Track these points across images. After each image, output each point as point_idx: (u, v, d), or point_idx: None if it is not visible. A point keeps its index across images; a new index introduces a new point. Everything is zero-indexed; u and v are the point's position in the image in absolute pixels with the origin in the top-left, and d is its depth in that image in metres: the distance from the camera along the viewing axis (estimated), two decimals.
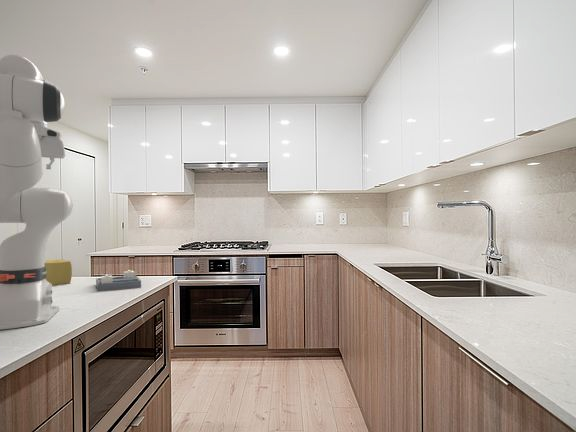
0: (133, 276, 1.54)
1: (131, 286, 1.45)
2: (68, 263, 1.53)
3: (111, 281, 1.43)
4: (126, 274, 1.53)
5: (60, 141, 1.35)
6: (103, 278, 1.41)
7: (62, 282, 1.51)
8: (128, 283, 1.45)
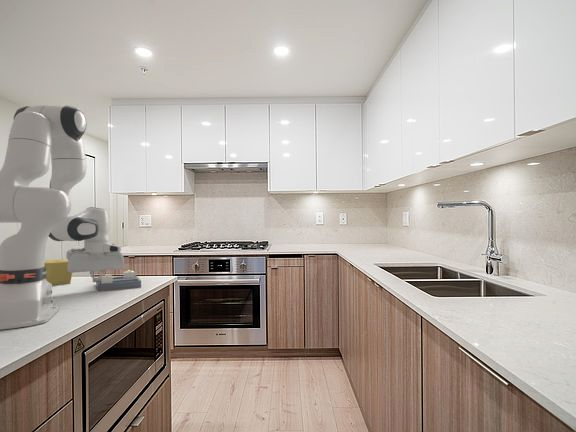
0: (133, 276, 1.54)
1: (131, 286, 1.45)
2: None
3: (111, 281, 1.43)
4: (126, 274, 1.53)
5: (120, 254, 1.44)
6: (103, 278, 1.41)
7: (62, 282, 1.51)
8: (128, 283, 1.45)
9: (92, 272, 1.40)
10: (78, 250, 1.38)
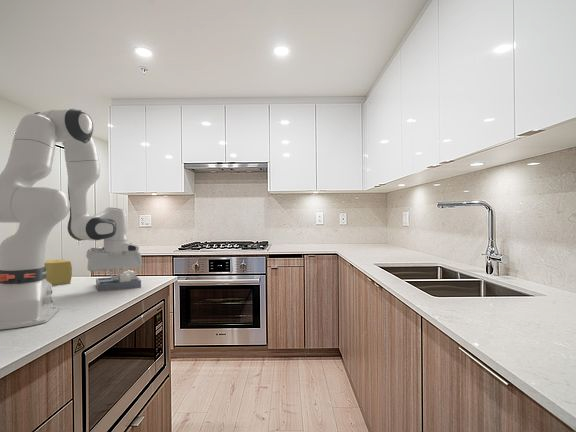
0: (133, 276, 1.54)
1: (131, 286, 1.45)
2: (68, 263, 1.53)
3: (129, 280, 1.46)
4: None
5: (138, 253, 1.47)
6: (121, 277, 1.45)
7: (62, 282, 1.51)
8: (128, 283, 1.45)
9: (111, 271, 1.43)
10: (98, 249, 1.41)
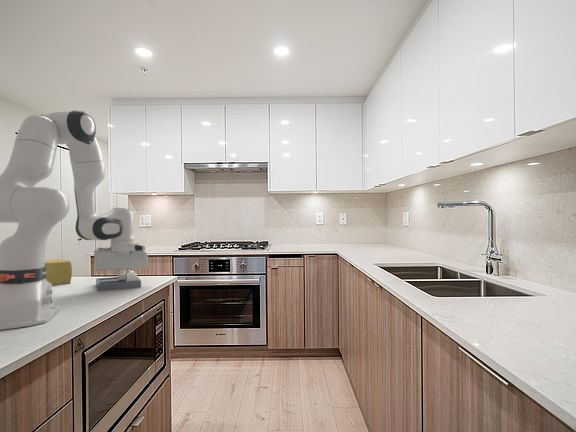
0: None
1: (131, 286, 1.45)
2: (68, 263, 1.53)
3: (136, 279, 1.48)
4: None
5: (145, 253, 1.49)
6: (128, 276, 1.46)
7: (62, 282, 1.51)
8: (128, 283, 1.45)
9: (118, 270, 1.45)
10: (105, 249, 1.43)
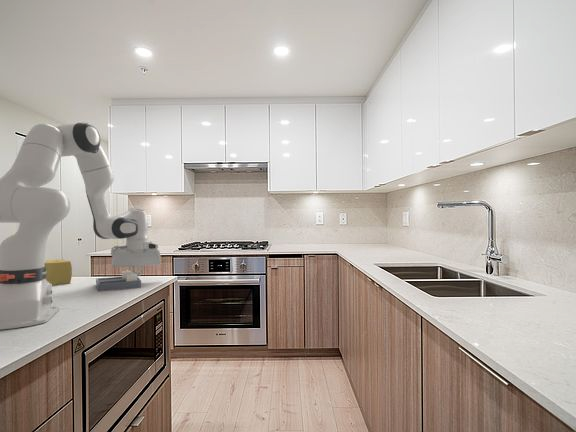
0: None
1: (131, 286, 1.45)
2: (68, 263, 1.53)
3: (136, 279, 1.48)
4: (124, 274, 1.53)
5: (158, 251, 1.59)
6: (128, 276, 1.46)
7: (62, 282, 1.51)
8: (128, 283, 1.45)
9: (133, 267, 1.55)
10: (121, 247, 1.53)
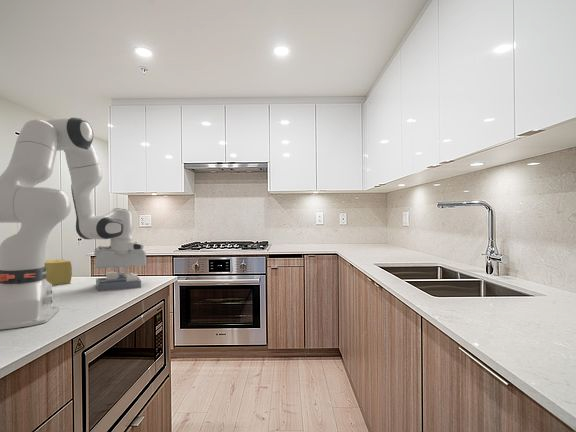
0: (116, 277, 1.51)
1: (131, 286, 1.45)
2: (68, 263, 1.53)
3: (136, 279, 1.48)
4: (108, 275, 1.49)
5: (143, 252, 1.55)
6: (128, 276, 1.46)
7: (62, 282, 1.51)
8: (128, 283, 1.45)
9: (117, 268, 1.52)
10: (105, 248, 1.49)
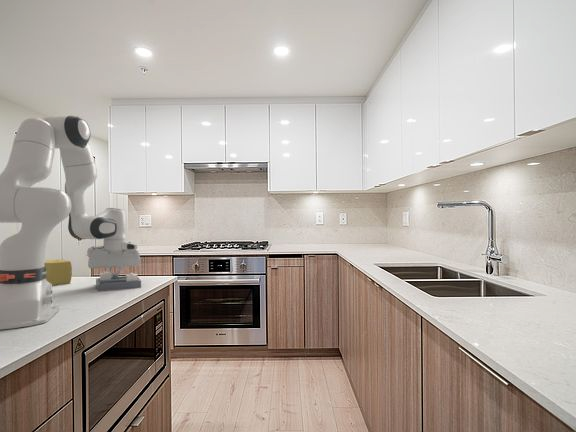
0: (109, 278, 1.50)
1: (131, 286, 1.45)
2: (68, 263, 1.53)
3: (136, 279, 1.48)
4: (102, 276, 1.48)
5: (137, 252, 1.54)
6: (128, 276, 1.46)
7: (62, 282, 1.51)
8: (128, 283, 1.45)
9: (111, 268, 1.50)
10: (98, 248, 1.48)
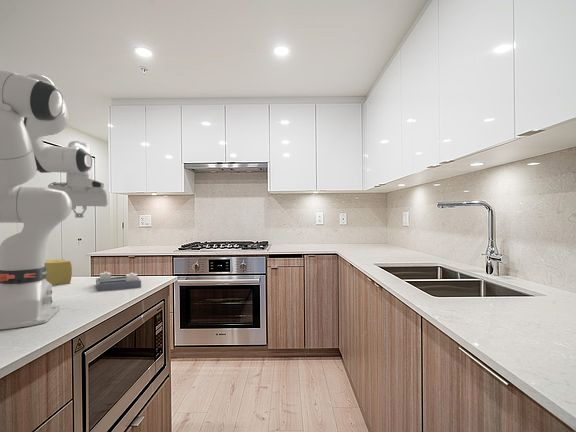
0: (109, 278, 1.50)
1: (131, 286, 1.45)
2: (68, 263, 1.53)
3: (136, 279, 1.48)
4: (102, 276, 1.48)
5: (103, 191, 1.43)
6: (128, 276, 1.46)
7: (62, 282, 1.51)
8: (128, 283, 1.45)
9: (74, 207, 1.39)
10: (60, 184, 1.37)
